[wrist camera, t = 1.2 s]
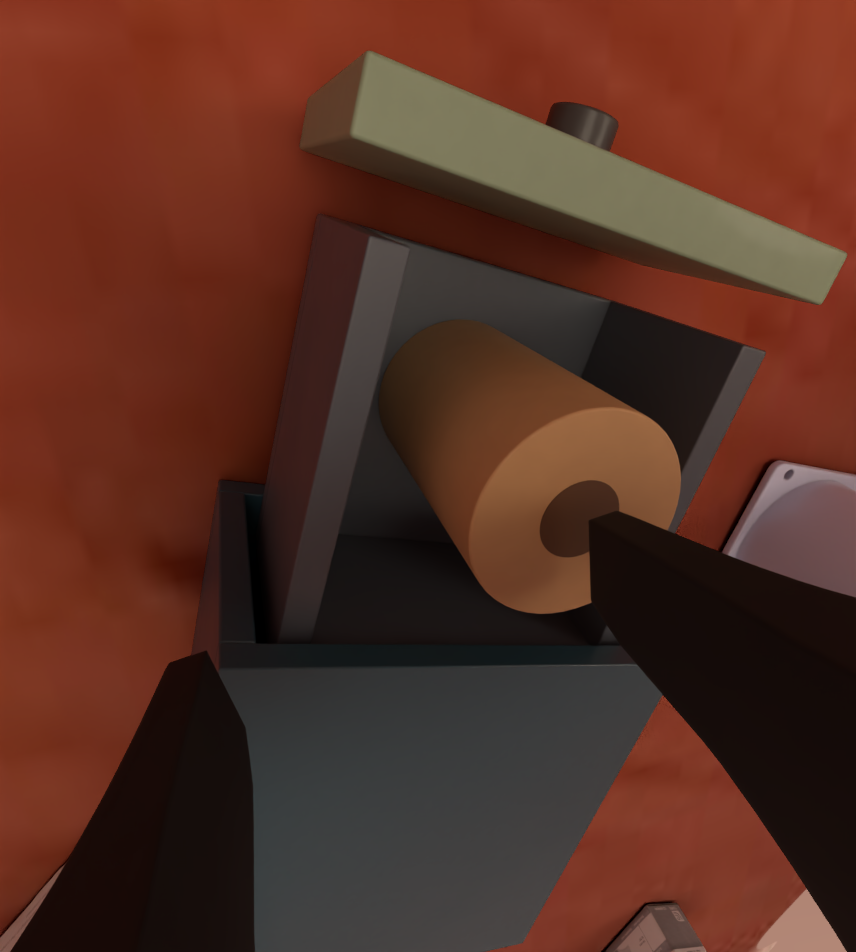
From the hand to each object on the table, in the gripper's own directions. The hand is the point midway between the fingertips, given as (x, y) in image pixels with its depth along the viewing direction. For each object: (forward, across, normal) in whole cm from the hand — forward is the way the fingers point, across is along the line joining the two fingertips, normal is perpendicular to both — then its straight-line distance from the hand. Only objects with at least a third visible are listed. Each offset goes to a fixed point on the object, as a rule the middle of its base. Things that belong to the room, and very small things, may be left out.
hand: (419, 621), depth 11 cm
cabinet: (+10, +1, +10) cm, 14 cm away
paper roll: (+8, -4, 0) cm, 9 cm away
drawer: (+9, -4, -1) cm, 10 cm away
